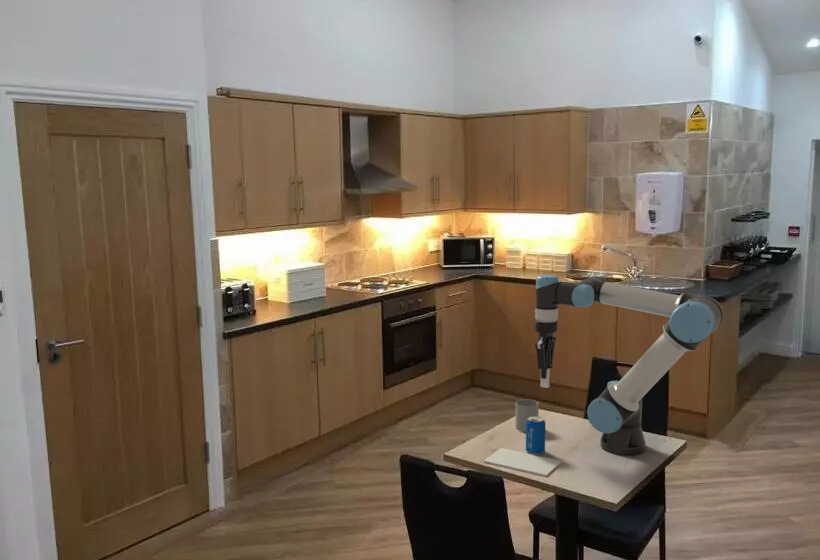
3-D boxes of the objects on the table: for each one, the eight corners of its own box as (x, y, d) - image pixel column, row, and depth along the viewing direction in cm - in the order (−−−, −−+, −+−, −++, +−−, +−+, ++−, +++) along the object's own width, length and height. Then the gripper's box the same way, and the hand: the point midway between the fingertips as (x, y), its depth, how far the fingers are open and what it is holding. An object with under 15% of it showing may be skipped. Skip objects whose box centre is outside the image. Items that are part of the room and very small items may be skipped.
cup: (539, 432, 264) (539, 406, 262) (517, 432, 264) (517, 406, 262) (536, 424, 272) (536, 399, 271) (514, 424, 272) (514, 399, 271)
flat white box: (561, 462, 236) (561, 461, 236) (546, 476, 225) (546, 474, 225) (501, 449, 247) (501, 447, 247) (483, 462, 237) (483, 460, 237)
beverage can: (522, 452, 245) (522, 418, 243) (532, 447, 249) (532, 414, 248) (538, 457, 240) (539, 423, 239) (548, 451, 245) (549, 418, 243)
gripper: (543, 315, 253) (542, 380, 256) (528, 322, 242) (527, 389, 245) (563, 318, 249) (562, 383, 252) (549, 324, 238) (547, 393, 241)
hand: (544, 386), depth 249 cm, fingers closed
